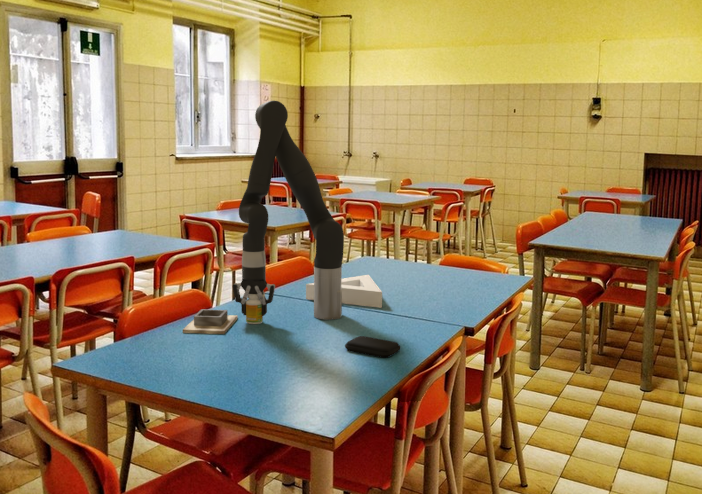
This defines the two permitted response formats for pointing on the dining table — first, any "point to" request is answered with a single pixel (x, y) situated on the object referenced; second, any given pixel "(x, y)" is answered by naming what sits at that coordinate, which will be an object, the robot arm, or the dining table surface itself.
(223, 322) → the caddy
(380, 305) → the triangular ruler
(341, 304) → the robot arm
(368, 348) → the carrying case or bag
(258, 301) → the supplement bottle
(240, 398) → the dining table surface
